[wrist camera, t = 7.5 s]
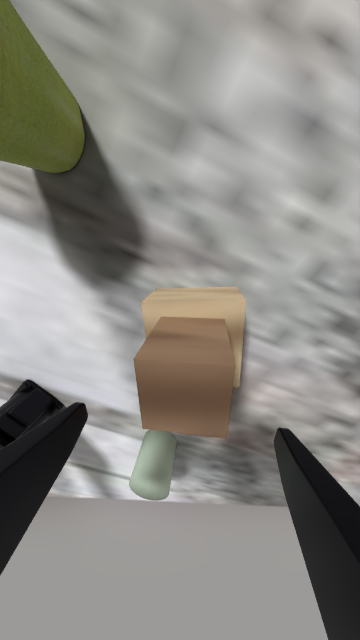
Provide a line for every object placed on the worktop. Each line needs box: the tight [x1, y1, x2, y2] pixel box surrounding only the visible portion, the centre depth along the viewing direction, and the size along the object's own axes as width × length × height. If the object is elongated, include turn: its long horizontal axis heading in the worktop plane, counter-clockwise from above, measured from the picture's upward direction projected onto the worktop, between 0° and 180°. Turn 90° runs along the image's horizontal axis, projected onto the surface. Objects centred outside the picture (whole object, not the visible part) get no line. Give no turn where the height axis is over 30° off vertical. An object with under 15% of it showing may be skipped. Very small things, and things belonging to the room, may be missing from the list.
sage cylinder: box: [129, 430, 177, 500], centre depth 25 cm, size 5×5×6 cm
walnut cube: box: [134, 317, 235, 439], centre depth 13 cm, size 5×5×6 cm
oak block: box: [141, 287, 246, 387], centre depth 18 cm, size 8×8×5 cm
